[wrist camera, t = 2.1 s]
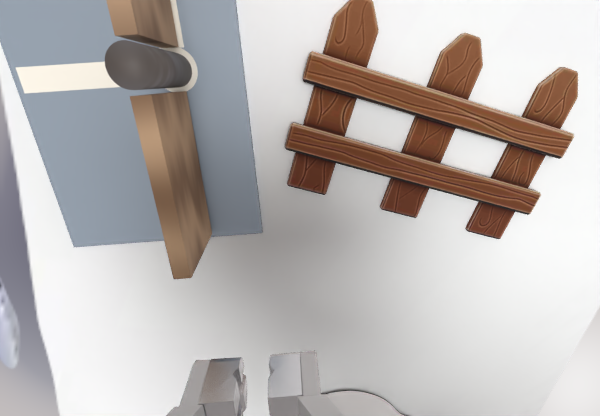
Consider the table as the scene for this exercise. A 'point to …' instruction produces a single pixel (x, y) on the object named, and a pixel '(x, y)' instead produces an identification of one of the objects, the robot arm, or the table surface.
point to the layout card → (129, 116)
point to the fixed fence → (145, 46)
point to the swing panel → (174, 176)
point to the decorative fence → (425, 125)
